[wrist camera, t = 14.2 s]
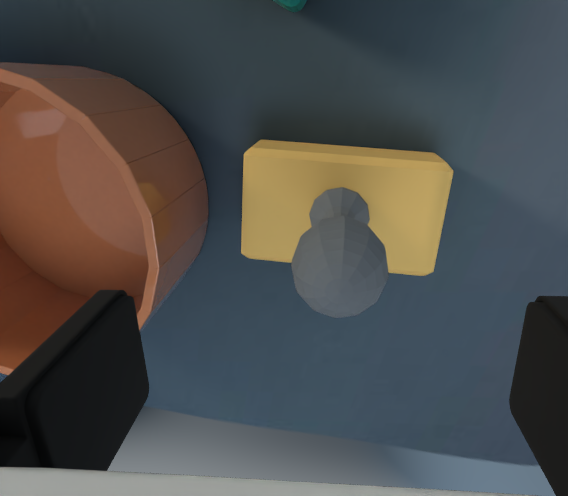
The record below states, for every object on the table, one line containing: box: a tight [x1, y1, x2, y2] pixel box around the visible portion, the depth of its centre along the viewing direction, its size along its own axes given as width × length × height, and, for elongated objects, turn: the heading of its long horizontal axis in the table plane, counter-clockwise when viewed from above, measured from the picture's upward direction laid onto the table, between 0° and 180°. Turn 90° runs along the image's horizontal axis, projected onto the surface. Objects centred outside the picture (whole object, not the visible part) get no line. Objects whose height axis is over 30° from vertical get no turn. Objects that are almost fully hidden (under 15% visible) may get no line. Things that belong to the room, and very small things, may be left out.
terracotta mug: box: [0, 62, 209, 375], centre depth 23 cm, size 18×15×8 cm
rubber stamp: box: [241, 140, 454, 318], centre depth 19 cm, size 10×6×12 cm, turn 86°
